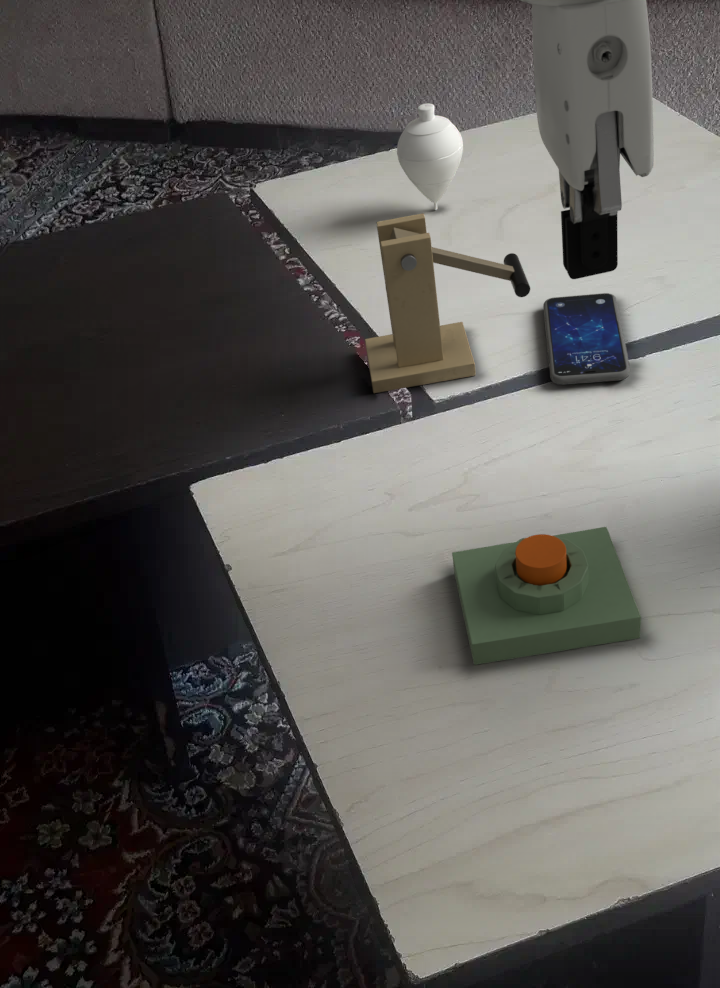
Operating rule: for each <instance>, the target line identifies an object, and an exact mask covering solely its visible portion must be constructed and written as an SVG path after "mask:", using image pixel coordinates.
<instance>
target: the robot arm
mask: <svg viewBox="0 0 720 988" xmlns="http://www.w3.org/2000/svg"><path fill="white" fill-rule="evenodd" d="M519 1H520V2H522V3H526V4H529V5H531V9H530V10H531V11H530V14H531V24H532V25H531V29H532V31H531V33H532V34H531V35H532V62H533V63H532V64H533V80H534V82H533V84H534V95H535V96H534V98H535V109H536V118H537V119H536V120H537V125H538V126H537V127H538V131H539V135H540V137H541V140H542V143H543V145H544V147H545V149H546V150H547V152H548V154H549V156H550V157H551V159H552V161H553V162H554V164H555V166H556V167H557V169H558V179H559V190H560V191H559V192H560V201H561V206H562V208H563V209H564V210H561V211H560V221H561V223H560V224H561V243H562V265H563V267H564V269H565V271H566V273H567V275H568V277H569V278H570V279H571V280H579V279H582V278H587V277H591V276H596V275H601V274H606V273H609V272H613V271H615V270H616V269H617V267H618V264H619V263H618V262H619V261H618V253H619V252H618V246H619V245H618V212H619V211H622V207H623V206H622V205H623V204H622V188H621V187H622V186H621V175H620V174H621V172H620V168H621V167H620V165H621V157H622V158H623V160H624V161H625V162H626V164H627V165H628V166H629V168H630V169H631V171H632V172H633V173H634V174H635V176H636V177H637V176H639V177H641V178H645V177H648V176H649V175H650V174H651V172H652V170H653V169H654V164H655V163H654V162H655V150H654V149H655V147H654V145H655V143H654V138H655V137H654V101H653V100H654V99H653V70H652V68H653V67H652V50H651V34H650V33H651V32H650V23H649V21H650V20H649V14H648V12H649V11H648V4H647V3H648V2H647V0H519Z"/></svg>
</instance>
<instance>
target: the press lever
mask: <svg viewBox="0 0 720 988" xmlns="http://www.w3.org/2000/svg"><path fill="white" fill-rule="evenodd" d="M413 235H419V233H415V232H411V231H406V230H402V229H398V228H393V230H392V233H391V237H390V240H392V239H397V238H402V237H408V236H413ZM432 255H433V264H437V265H440V266H441V265H442V266H445V267H450V268H455V269H458V270H463V271H467V272H471V273H475V274H479V275H484V276H487V277H492V278H496V279H501V280H505V281H508V282H510V284H511V286H512V289H513V292H514V294H515V295H516V297H518V298H525V297H527V296H529V294H530V292H531V286H530V283H529V280H528V278H527V275H526V273H525V271H524V268H523V265H522V264H521V263H522V262H521V261H520V258H519V255H517V254H516V253H513V252H511V253H508V254H506V256H505V257H504V258H503V263H500V262H496V261H492V260H487V259H484V258H479V257H476V256H471V255H467V254H462V253H459V252H455V251H450V250H446V249H442V248H437V247H433V246H432Z"/></svg>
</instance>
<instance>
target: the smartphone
mask: <svg viewBox="0 0 720 988" xmlns="http://www.w3.org/2000/svg"><path fill="white" fill-rule="evenodd" d="M542 308H543V318H544V326H545V338H546V348H547V352H546V357H547V358H546V359H547V364H548V366H549V367H548V368H549V377H550V380H551V382H553V383H554V384H556V385H561V386H562V385H563V386H564V385H573V384H574V385H575V384H576V385H577V384H587V383H588V384H589V383H601V382H615V381H622V380H625V379H627V378H628V377H629V376H630V373H631V368H630V360H629V354H628V350H627V344H626V342H625V337H624V332H623V327H622V321H621V316H620V311H619V305H618V300H617V297H616V296H615V295H614V294H612V293H608V292H603V293H592V294H591V293H590V294H580V295H569V296H567V295H566V296H557V297H556V296H555V297H554V296H553V297H550V298H548V299H546V300H545V301H544V302H543V306H542Z"/></svg>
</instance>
